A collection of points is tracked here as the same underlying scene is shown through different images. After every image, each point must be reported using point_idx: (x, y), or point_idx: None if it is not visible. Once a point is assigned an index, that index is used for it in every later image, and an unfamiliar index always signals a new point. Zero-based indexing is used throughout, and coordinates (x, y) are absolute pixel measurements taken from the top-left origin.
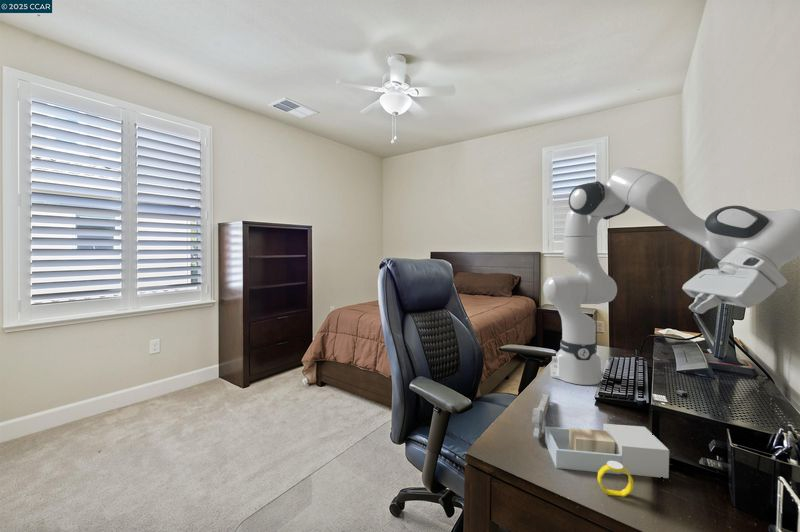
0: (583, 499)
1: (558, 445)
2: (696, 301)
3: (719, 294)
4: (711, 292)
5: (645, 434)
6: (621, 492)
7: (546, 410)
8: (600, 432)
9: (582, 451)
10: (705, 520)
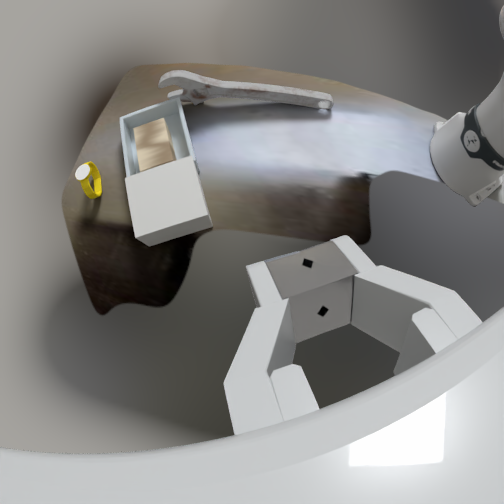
0: (82, 160)
1: (173, 123)
2: (368, 283)
3: (110, 453)
4: (271, 429)
5: (176, 211)
6: (98, 191)
7: (277, 100)
8: (163, 153)
9: (124, 141)
10: (84, 267)
